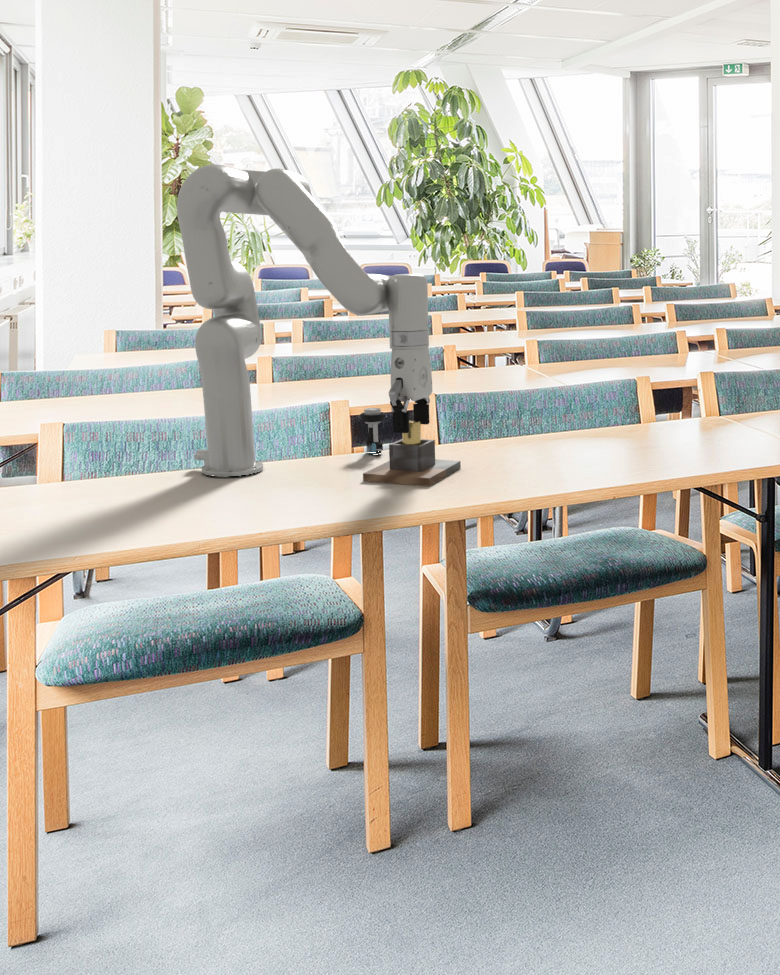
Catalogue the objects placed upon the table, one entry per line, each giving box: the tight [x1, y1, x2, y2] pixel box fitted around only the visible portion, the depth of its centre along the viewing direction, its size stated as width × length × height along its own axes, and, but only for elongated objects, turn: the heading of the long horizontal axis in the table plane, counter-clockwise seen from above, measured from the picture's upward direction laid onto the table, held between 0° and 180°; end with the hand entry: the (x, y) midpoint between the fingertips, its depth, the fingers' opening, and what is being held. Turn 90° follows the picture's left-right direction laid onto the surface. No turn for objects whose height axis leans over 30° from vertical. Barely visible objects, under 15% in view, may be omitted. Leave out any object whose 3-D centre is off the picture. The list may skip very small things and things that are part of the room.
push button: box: [359, 407, 385, 456], centre depth 204 cm, size 7×5×10 cm
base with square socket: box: [362, 438, 461, 487], centre depth 184 cm, size 14×16×6 cm
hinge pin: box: [401, 420, 422, 445], centre depth 183 cm, size 4×4×9 cm
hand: (411, 428), depth 183 cm, fingers open, 9 cm apart
